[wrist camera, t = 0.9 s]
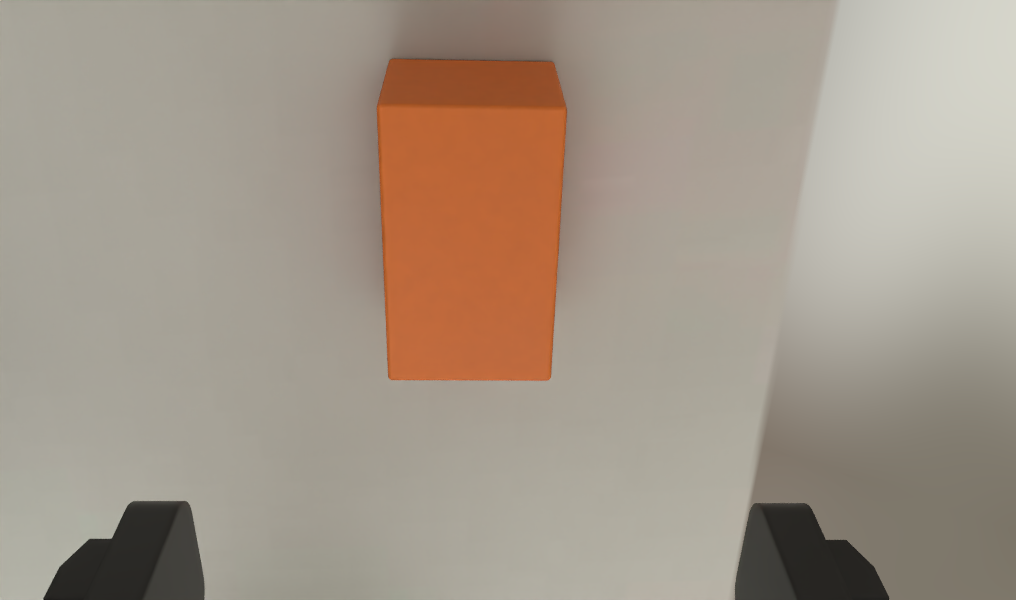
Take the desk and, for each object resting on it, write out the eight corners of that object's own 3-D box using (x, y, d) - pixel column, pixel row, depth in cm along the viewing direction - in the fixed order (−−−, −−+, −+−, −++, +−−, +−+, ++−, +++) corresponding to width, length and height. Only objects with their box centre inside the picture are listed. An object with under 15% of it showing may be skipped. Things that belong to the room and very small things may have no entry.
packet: (388, 57, 23) (375, 104, 20) (554, 60, 23) (567, 107, 20) (397, 309, 26) (387, 381, 23) (541, 310, 26) (550, 382, 23)
